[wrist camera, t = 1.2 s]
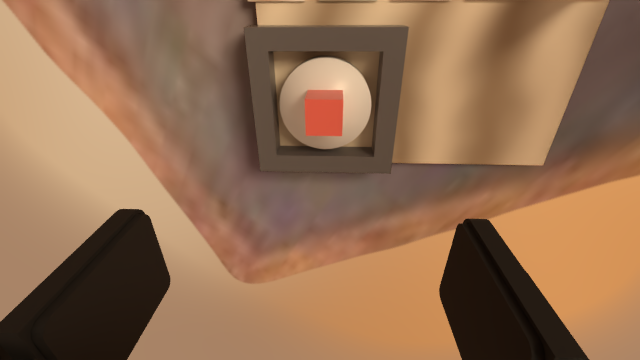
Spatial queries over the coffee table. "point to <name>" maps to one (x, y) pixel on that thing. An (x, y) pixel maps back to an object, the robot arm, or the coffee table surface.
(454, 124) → the board
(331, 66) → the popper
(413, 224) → the coffee table surface
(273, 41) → the frame
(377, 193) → the coffee table surface
